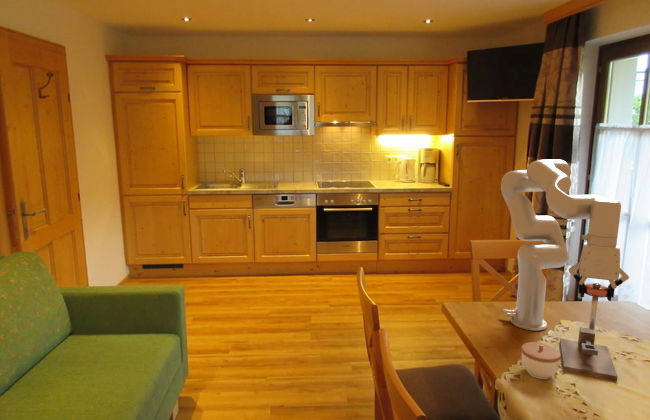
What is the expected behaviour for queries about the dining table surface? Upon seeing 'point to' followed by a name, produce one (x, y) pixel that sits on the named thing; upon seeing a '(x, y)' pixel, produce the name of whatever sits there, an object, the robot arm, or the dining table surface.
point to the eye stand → (587, 356)
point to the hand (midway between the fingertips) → (595, 297)
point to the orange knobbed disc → (595, 299)
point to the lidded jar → (540, 359)
